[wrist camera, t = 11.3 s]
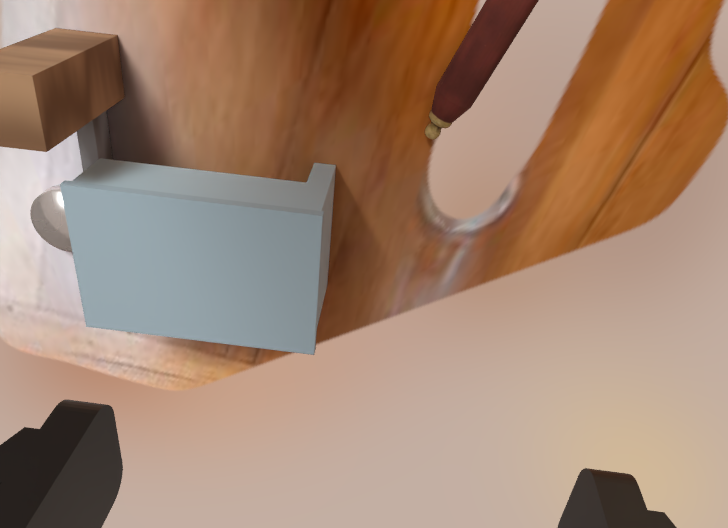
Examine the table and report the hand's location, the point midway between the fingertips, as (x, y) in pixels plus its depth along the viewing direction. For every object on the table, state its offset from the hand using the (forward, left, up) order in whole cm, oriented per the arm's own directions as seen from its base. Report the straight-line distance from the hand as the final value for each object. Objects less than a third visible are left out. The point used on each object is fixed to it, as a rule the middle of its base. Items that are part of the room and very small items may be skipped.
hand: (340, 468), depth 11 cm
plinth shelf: (+13, -11, -32) cm, 36 cm away
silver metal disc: (+14, -23, -32) cm, 42 cm away
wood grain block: (+9, -20, -32) cm, 39 cm away
